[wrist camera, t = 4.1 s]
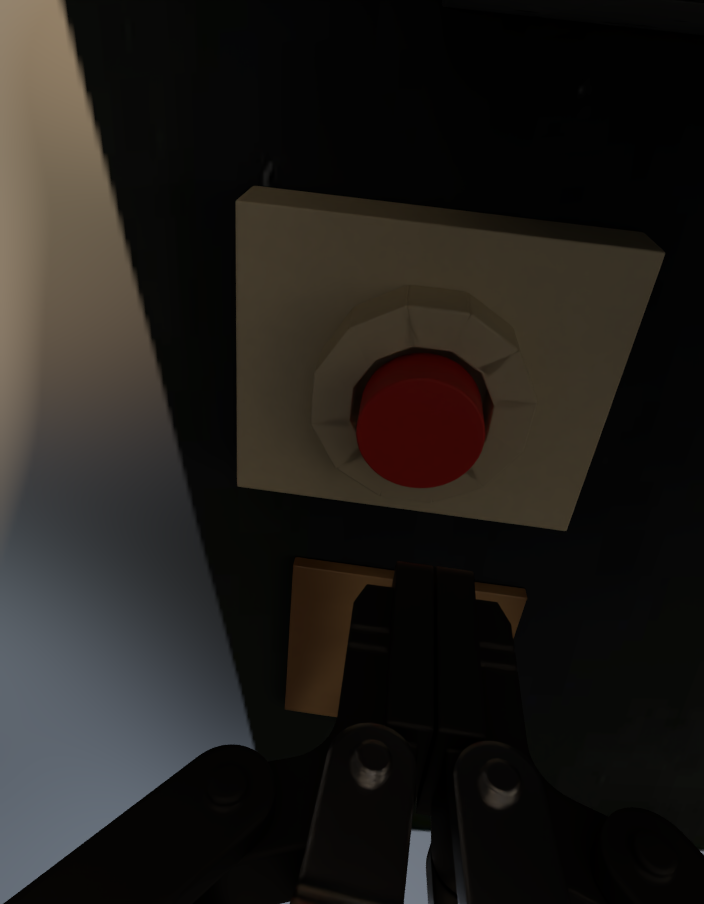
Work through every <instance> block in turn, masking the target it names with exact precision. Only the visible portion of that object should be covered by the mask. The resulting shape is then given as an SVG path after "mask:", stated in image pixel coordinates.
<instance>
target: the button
mask: <svg viewBox="0 0 704 904" xmlns="http://www.w3.org/2000/svg"><path fill="white" fill-rule="evenodd" d="M356 439H357V444H358V448H359V450H360V452H361V455H362V456H363V458H364V460H365V461H366V463H367V464H368V465H369V466H370V468H372V469H373V470H374V471H375V472H376V473H377V474H378V475H380V476H381V477H383V478H384V479H386V480H388V481H390V482H392V483H395V484H398V485H401V486H405V487H410V488H431V487H437V486H441V485H444V484H447V483H450V482H452V481H454V480H456V479H458V478H459V477H461V476H462V475H463V474H465V473H466V472H467V471H468V470H469V469H470V468H471V467H472V466H473V465H474V464H475V462H476V461H477V459H478V458H479V456H480V454H481V452H482V449H483V446H484V442H485V423H484V416H483V409H482V402H481V395H480V392H479V389H478V386H477V384H476V382H475V381H474V379H473V378H472V376H471V375H470V374H469V373H468V372H467V371H466V370H465V369H464V368H463V367H462V366H461V365H459V364H458V363H456V362H455V361H453V360H451V359H449V358H446V357H443V356H440V355H437V354H431V353H412V354H406V355H403V356H399V357H397V358H394V359H392V360H390V361H388V362H387V363H385V364H383V365H382V366H381V367H380V368H379V369H377V370H376V371H375V372H374V374H373V375H372V376H371V377H370V379H369V380H368V382H367V384H366V386H365V388H364V391H363V394H362V399H361V404H360V410H359V415H358V420H357V426H356Z"/></svg>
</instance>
